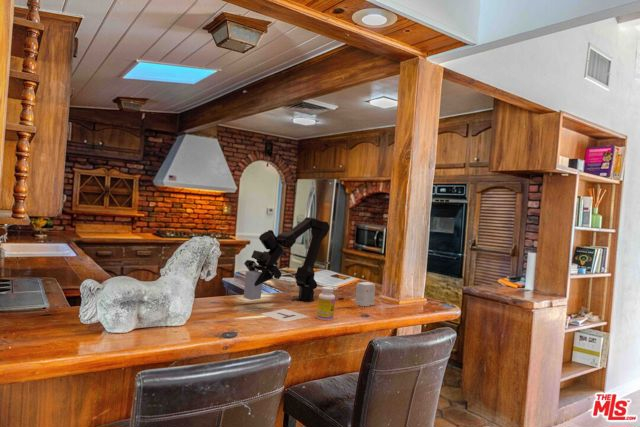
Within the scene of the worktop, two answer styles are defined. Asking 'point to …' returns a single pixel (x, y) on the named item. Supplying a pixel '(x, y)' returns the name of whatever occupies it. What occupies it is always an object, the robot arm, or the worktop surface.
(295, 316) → the pad
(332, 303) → the supplement bottle
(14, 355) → the worktop surface
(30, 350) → the worktop surface
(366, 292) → the small box
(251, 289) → the gray block
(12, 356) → the worktop surface
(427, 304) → the worktop surface
